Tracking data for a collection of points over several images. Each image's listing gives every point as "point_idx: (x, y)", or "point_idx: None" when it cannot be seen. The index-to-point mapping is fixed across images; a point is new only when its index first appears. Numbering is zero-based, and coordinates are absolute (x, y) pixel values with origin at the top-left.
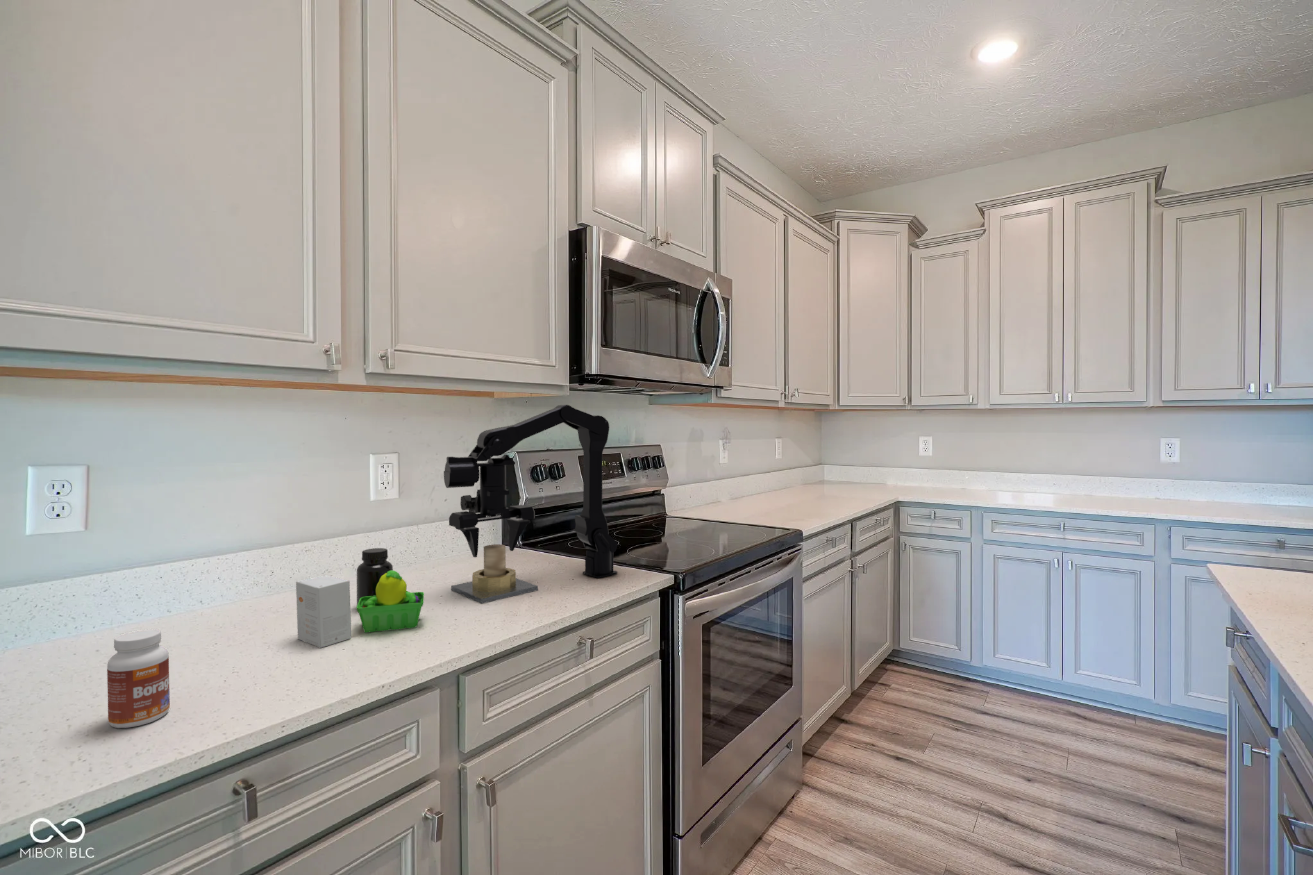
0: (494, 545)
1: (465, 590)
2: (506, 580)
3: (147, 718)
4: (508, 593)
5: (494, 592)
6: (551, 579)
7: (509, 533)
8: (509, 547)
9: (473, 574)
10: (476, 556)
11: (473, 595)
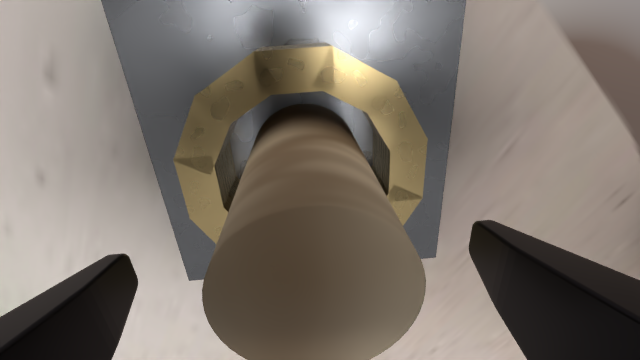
0: (340, 260)
1: (157, 139)
2: None
3: None
4: None
5: None
6: (576, 148)
7: (636, 329)
8: (487, 233)
9: (185, 140)
10: (131, 292)
11: (173, 227)
